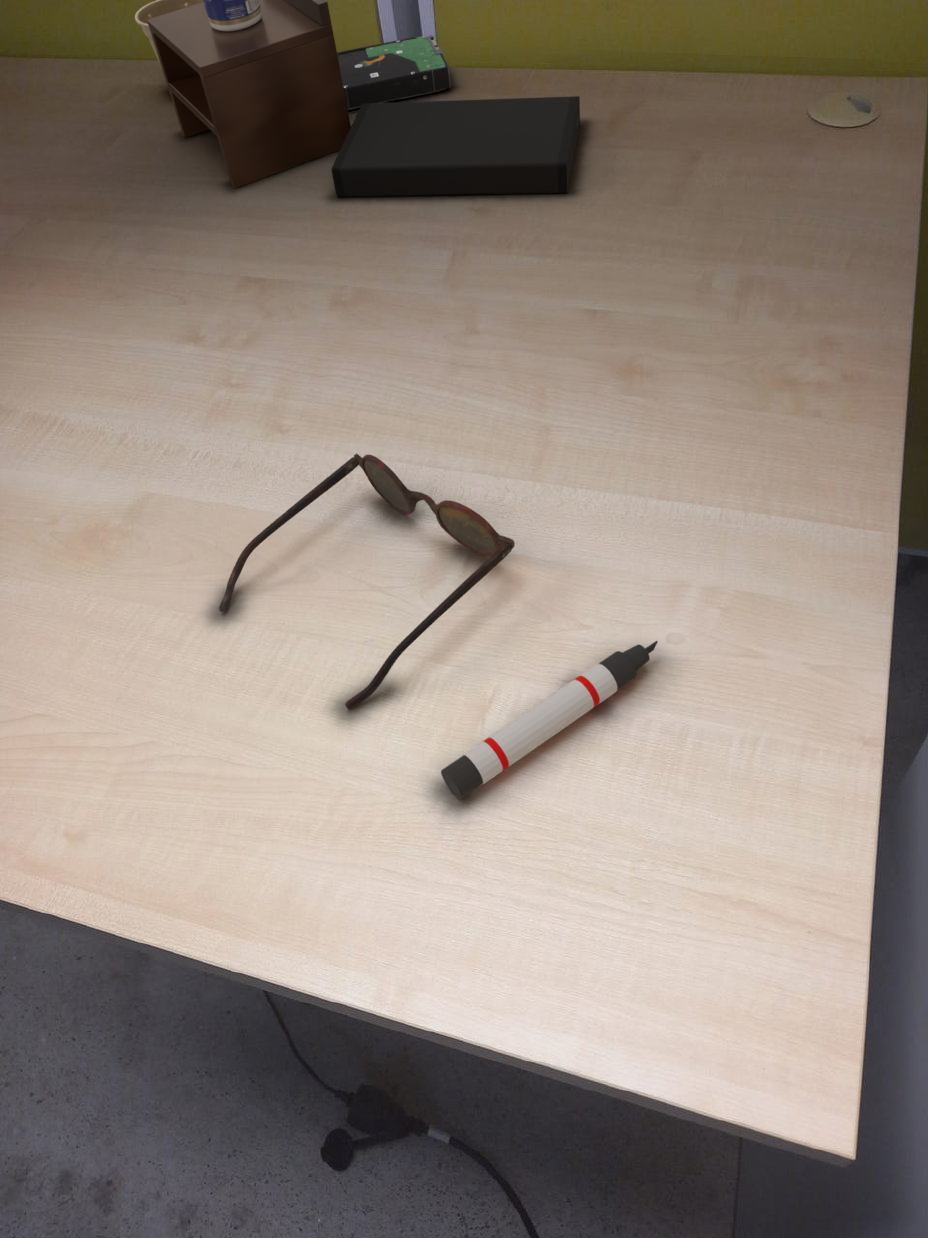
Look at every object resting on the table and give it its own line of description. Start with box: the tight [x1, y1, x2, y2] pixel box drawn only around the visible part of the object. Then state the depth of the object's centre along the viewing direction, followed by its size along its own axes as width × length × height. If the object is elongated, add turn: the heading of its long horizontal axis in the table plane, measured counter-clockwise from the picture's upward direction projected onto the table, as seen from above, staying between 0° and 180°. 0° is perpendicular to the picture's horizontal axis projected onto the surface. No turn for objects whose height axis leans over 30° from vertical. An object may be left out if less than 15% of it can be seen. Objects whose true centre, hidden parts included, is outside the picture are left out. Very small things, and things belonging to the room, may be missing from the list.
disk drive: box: [337, 34, 452, 111], centre depth 118 cm, size 10×3×15 cm
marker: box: [440, 640, 659, 800], centre depth 59 cm, size 15×2×2 cm, turn 126°
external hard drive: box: [331, 95, 581, 198], centre depth 104 cm, size 14×23×3 cm, turn 81°
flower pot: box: [134, 0, 203, 66], centre depth 120 cm, size 9×9×9 cm
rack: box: [147, 0, 352, 189], centre depth 107 cm, size 14×16×14 cm
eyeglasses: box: [218, 452, 516, 710], centre depth 66 cm, size 15×15×5 cm
